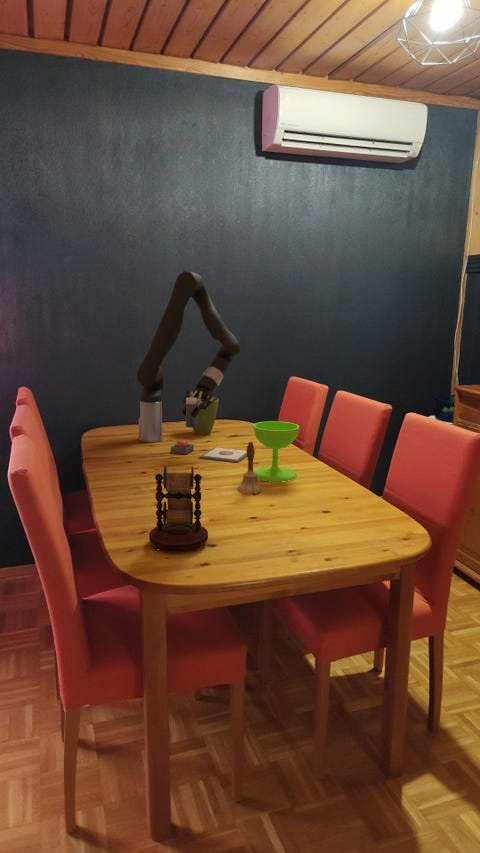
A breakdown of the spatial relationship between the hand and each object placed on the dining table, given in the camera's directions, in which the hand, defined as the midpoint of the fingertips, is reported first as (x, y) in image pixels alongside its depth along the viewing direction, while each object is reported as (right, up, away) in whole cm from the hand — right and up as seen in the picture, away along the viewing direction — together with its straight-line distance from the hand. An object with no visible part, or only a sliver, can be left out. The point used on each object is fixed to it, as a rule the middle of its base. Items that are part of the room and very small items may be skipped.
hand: (188, 415), depth 222 cm
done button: (-3, -13, +12) cm, 18 cm away
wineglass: (+32, -22, -17) cm, 43 cm away
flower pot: (+2, -8, +46) cm, 47 cm away
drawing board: (+14, -16, +8) cm, 23 cm away
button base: (-4, -15, +13) cm, 20 cm away
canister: (+1, -4, +2) cm, 5 cm away
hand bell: (+23, -25, -33) cm, 47 cm away
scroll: (+4, -34, -75) cm, 83 cm away
